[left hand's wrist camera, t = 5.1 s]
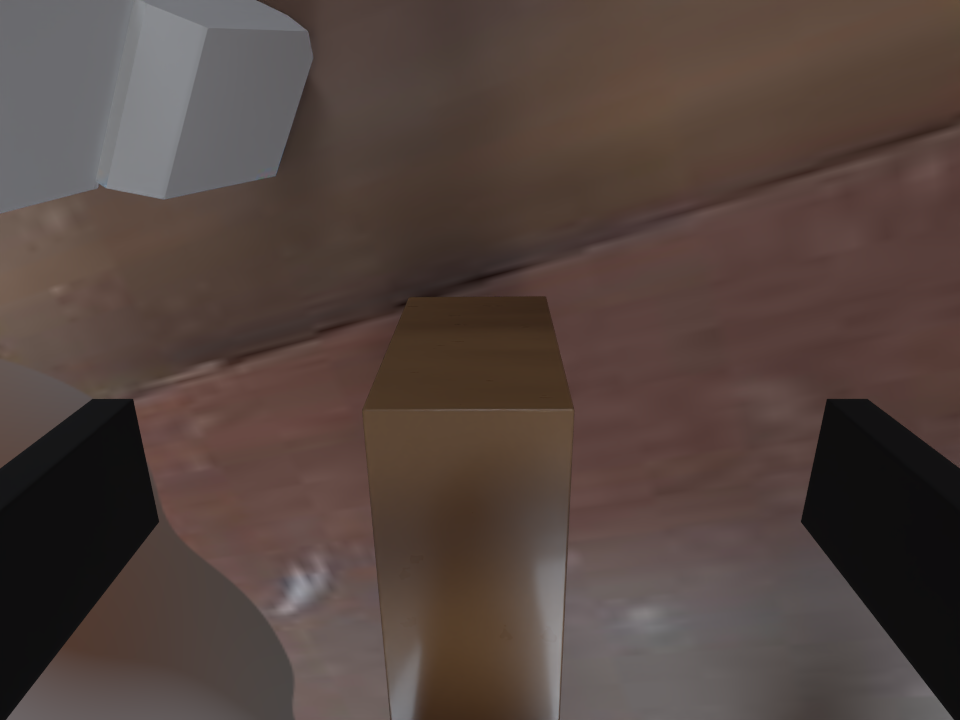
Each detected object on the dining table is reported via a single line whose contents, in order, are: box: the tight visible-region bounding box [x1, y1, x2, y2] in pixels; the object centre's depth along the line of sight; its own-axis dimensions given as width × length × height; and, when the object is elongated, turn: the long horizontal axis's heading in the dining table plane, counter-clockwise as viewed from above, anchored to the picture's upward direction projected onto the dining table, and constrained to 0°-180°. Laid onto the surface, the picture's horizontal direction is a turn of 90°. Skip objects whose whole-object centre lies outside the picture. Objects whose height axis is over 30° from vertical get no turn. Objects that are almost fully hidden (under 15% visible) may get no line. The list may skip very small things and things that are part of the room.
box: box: [362, 296, 574, 720], centre depth 29 cm, size 26×6×11 cm, turn 1°
